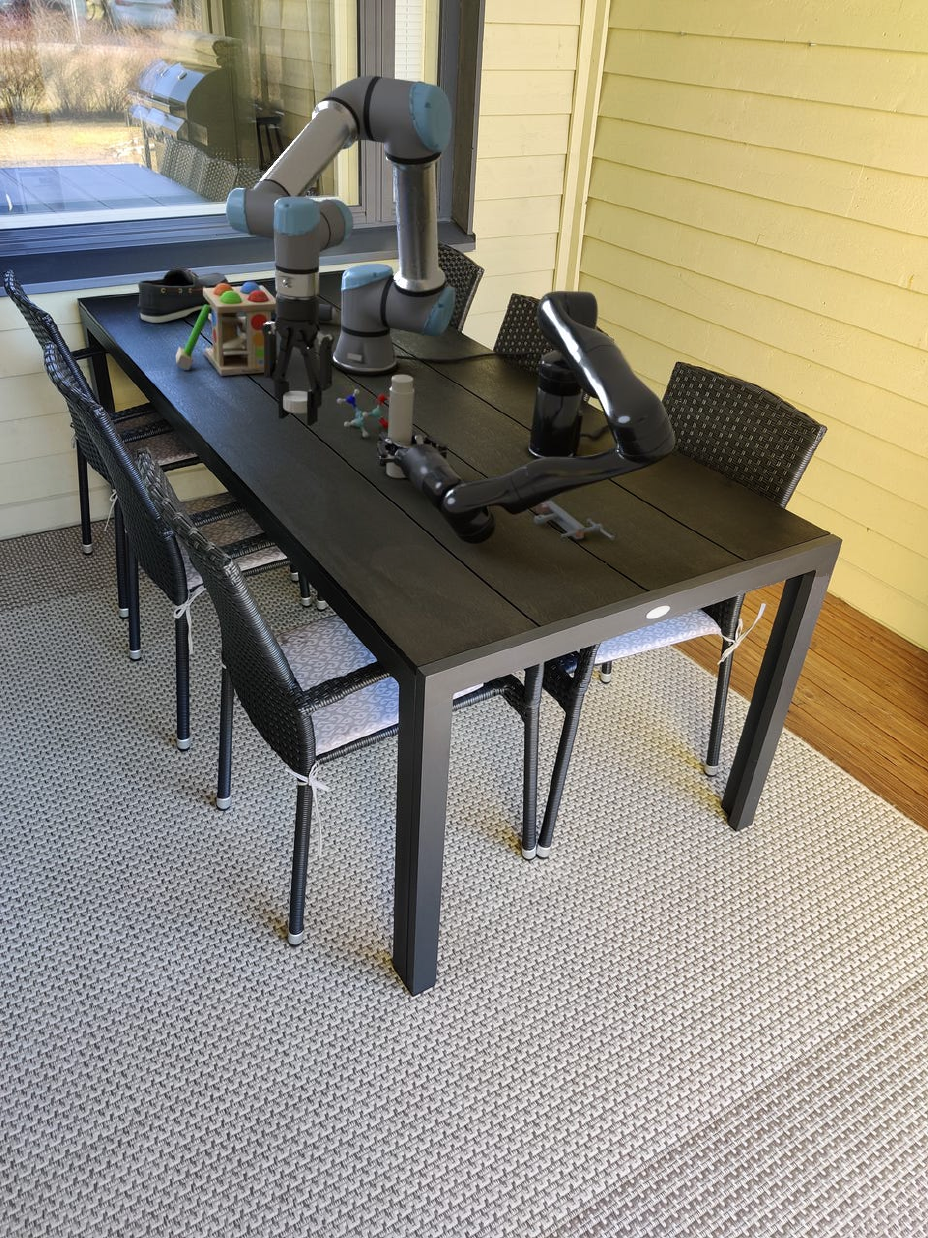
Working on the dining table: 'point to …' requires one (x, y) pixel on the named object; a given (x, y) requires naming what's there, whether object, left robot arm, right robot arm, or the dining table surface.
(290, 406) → the lid
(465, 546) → the dining table surface
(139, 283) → the boat shoe
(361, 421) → the molecular model
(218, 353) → the pounding bench toy
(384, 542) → the dining table surface
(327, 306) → the power drill
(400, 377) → the jar
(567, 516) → the clamp
